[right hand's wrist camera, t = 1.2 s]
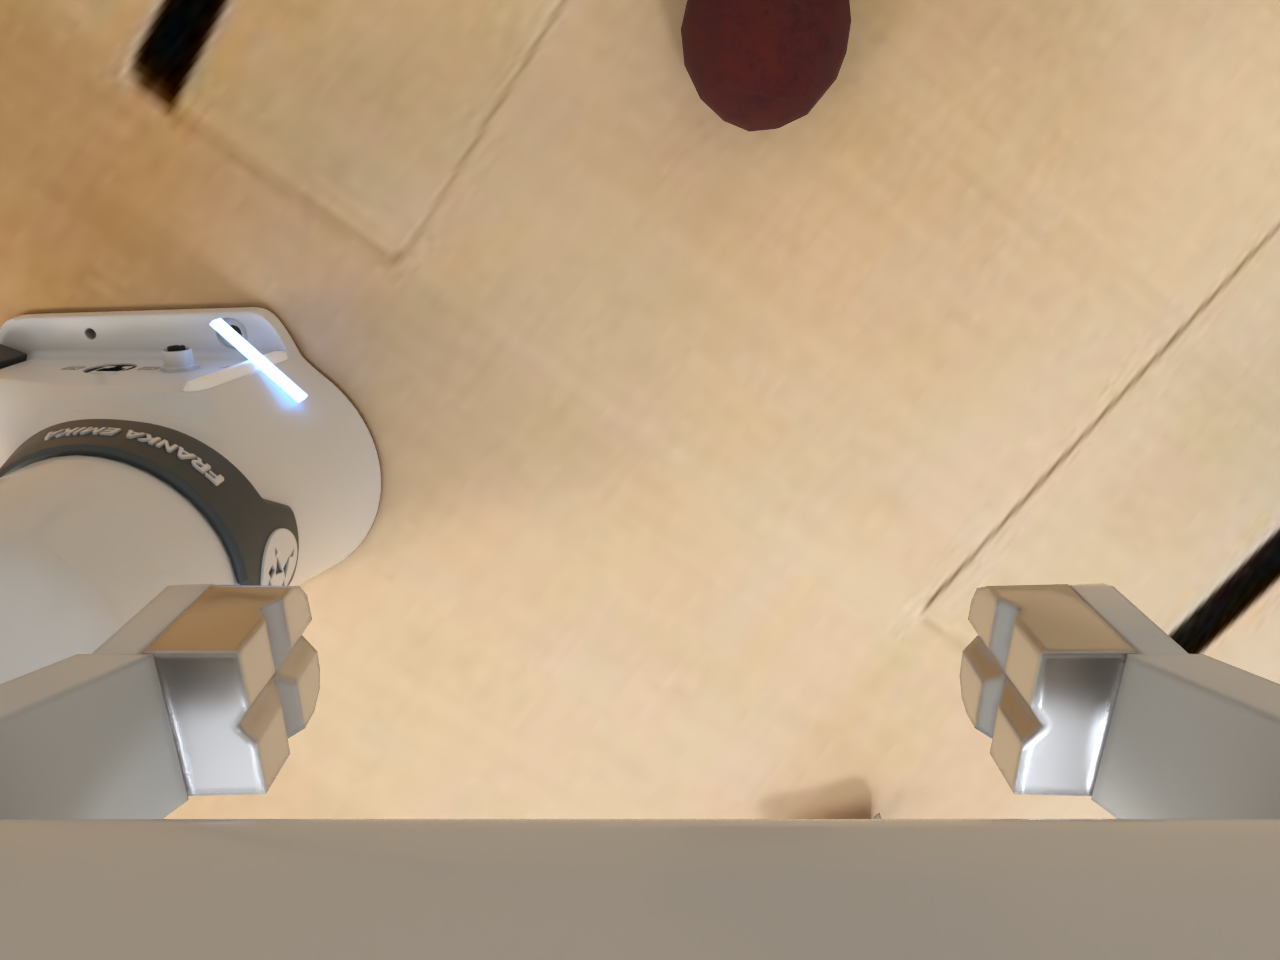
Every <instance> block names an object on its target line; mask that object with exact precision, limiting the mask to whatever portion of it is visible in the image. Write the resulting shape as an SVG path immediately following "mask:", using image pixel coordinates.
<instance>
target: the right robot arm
mask: <svg viewBox="0 0 1280 960" xmlns="http://www.w3.org/2000/svg"><path fill="white" fill-rule="evenodd" d="M233 325H235V326H237V327H238V328H239V329H240V331H241V336H240V335H239V334H238V333H237V332H236V331H235V330H234V329H233V328H232V326H233ZM380 496H381V470H380V463H379V459H378V454H377V451H376V447H375V444H374V442H373V439H372V437H371V434H370V432H369V430H368V428H367V426H366V424H365V422H364V421H363V419H362V417H361V416H360V414H359V413H358V411H357V410H356V408H355V407H354V406H353V404H352V403H351V402H350V401H349V399H348V398H347V397H346V396H345V395H344V394H343V393H342V392H341V391H340V390H339V389H338V388H337V387H336V386H335V385H334V384H333V383H332V382H331V381H329V380H328V379H327V378H326V377H325V376H323V375H322V374H321V373H320V372H319V371H317V370H316V369H315V368H314V367H313V366H312V365H310V364H309V363H308V362H307V361H306V360H305V359H304V357H303V356H302V355H301V354H300V352H299V350H298V348H297V346H296V345H295V343H294V341H293V339H292V338H291V336H290V334H289V333H288V331H287V330H286V328H285V327H284V325H283V324H282V323H281V321H280V320H279V319H278V318H277V317H276V316H275V315H274V314H273V313H272V312H270V311H269V310H267V309H264V308H260V307H236V308H204V309H172V310H140V311H108V312H75V313H44V314H26V315H20V316H17V317H14V318H11V319H9V320H7V321H5V322H4V323H3V325H2V326H1V328H0V960H1280V684H1277V683H1275V682H1272V681H1270V680H1267V679H1265V678H1262V677H1260V676H1257V675H1254V674H1252V673H1249V672H1247V671H1244V670H1242V669H1239V668H1237V667H1234V666H1232V665H1229V664H1227V663H1224V662H1221V661H1219V660H1216V659H1214V658H1211V657H1209V656H1206V655H1204V654H1188V653H1187V652H1186V651H1185V650H1184V649H1183V648H1182V647H1180V646H1179V645H1178V644H1177V643H1176V642H1175V641H1174V640H1173V639H1172V638H1170V637H1169V636H1168V635H1167V634H1166V633H1165V632H1164V631H1163V630H1161V629H1160V628H1159V627H1158V626H1157V625H1156V624H1155V623H1154V622H1152V621H1151V620H1150V619H1149V618H1148V617H1147V616H1146V615H1145V614H1144V613H1142V612H1141V611H1140V610H1139V609H1138V608H1137V607H1136V606H1135V605H1133V604H1132V603H1131V602H1130V601H1129V600H1128V599H1127V598H1126V597H1124V596H1123V595H1122V594H1121V593H1120V592H1119V591H1118V590H1117V589H1116V588H1114V587H1113V586H1109V585H1106V584H1081V585H1068V584H1061V585H1019V586H986V587H981V588H977V590H976V592H975V594H974V596H973V598H972V601H971V606H970V612H969V617H968V620H969V621H970V623H971V625H972V626H973V628H974V629H975V631H976V632H977V634H978V636H977V637H976V638H975V639H974V640H973V641H972V642H971V643H970V644H969V645H968V646H967V647H966V648H965V650H964V651H963V654H962V662H961V670H960V683H961V694H962V700H963V703H964V706H965V709H966V712H967V715H968V716H969V718H970V720H971V722H972V724H973V725H974V727H975V728H976V729H978V730H979V731H981V732H982V733H984V734H986V735H987V736H989V737H991V738H992V745H991V750H990V754H991V756H992V758H993V759H994V761H995V763H996V764H997V766H998V768H999V769H1000V771H1001V773H1002V774H1003V776H1004V778H1005V779H1006V781H1007V783H1008V784H1009V786H1010V788H1011V789H1012V791H1013V793H1014V794H1034V795H1072V796H1092V798H1091V799H1092V800H1093V801H1094V802H1096V803H1097V804H1098V805H1100V806H1101V807H1102V808H1104V809H1105V810H1106V811H1108V812H1109V813H1111V814H1112V815H1113V816H1115V817H1116V818H1117V819H163V818H164V817H166V816H167V815H168V814H170V813H171V812H172V811H174V810H175V809H177V808H178V807H179V806H181V805H182V804H183V803H185V802H186V801H187V800H188V796H208V795H244V794H266V793H267V791H268V790H269V788H270V786H271V784H272V783H273V781H274V779H275V778H276V776H277V774H278V773H279V771H280V769H281V768H282V766H283V764H284V763H285V761H286V759H287V758H288V756H289V754H290V750H289V745H288V738H289V737H291V736H293V735H294V734H296V733H298V732H299V731H301V730H302V729H304V728H305V727H306V725H307V723H308V722H309V720H310V718H311V716H312V714H313V713H314V710H315V706H316V701H317V697H318V693H319V689H320V667H319V660H318V654H317V651H316V650H315V648H314V647H313V646H312V645H311V644H310V643H309V642H308V641H307V640H306V639H305V638H304V637H303V636H302V634H303V632H304V631H305V629H306V628H307V626H308V625H309V623H310V621H311V620H312V617H311V612H310V608H309V603H308V598H307V595H306V593H305V592H304V591H303V590H302V589H301V587H300V585H301V584H303V583H304V582H306V581H308V580H309V579H311V578H312V577H314V576H316V575H318V574H320V573H322V572H324V571H326V570H328V569H330V568H332V567H333V566H335V565H337V564H338V563H340V562H341V561H343V560H344V559H345V558H347V557H348V556H349V555H350V554H351V553H352V552H353V551H354V550H355V549H356V548H357V547H358V546H359V545H360V544H361V542H362V541H363V540H364V538H365V537H366V535H367V534H368V532H369V530H370V529H371V527H372V524H373V522H374V520H375V517H376V514H377V511H378V507H379V502H380Z"/></svg>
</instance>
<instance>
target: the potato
mask: <svg viewBox="0 0 1280 960" xmlns="http://www.w3.org/2000/svg"><path fill="white" fill-rule="evenodd" d="M850 24H851V16H850V5H849V0H688V1H687V5H686V10H685V14H684V19H683V23H682V28H681V34H682V44H683V53H684V63H685V67H686V69H687V71H688V73H689V75H690V77H691V79H692V82H693V84H694V86H695V88H696V90H697V92H698V94H699V96H700V98H701V100H703V101H704V102H705V103H706V104H707V105H708V106H709V107H710V108H711V109H712V110H713V111H714V112H715V113H716V114H717V115H718V116H719V117H720V118H722V119H723V120H724V121H726V122H728V123H730V124H733V125H735V126H738V127H740V128H742V129H745V130H747V131H757V130H768V129H776V128H780V127H782V126H784V125H786V124H788V123H790V122H792V121H794V120H796V119H798V118H800V117H803V116H805V115H807V114H808V113H809V111H810V110H811V109H812V108H813V107H814V105H815V104H816V103H817V102H818V100H819V99H820V98H821V97H822V96H823V94H824V93H825V92H826V91H827V90H828V88H829V87H830V86H831V85H832V83H833V82H834V81H835V80H836V78H837V76H838V73H839V70H840V68H841V65H842V62H843V60H844V57H845V54H846V50H847V43H848V37H849V30H850Z"/></svg>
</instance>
